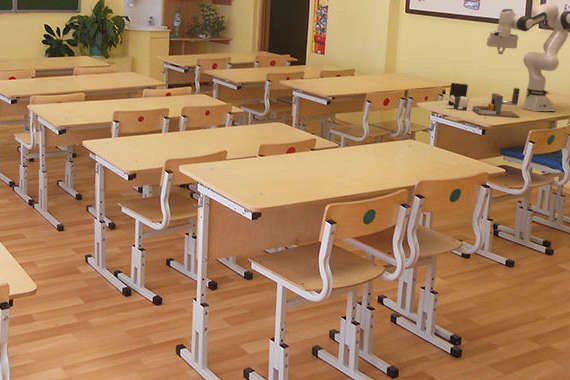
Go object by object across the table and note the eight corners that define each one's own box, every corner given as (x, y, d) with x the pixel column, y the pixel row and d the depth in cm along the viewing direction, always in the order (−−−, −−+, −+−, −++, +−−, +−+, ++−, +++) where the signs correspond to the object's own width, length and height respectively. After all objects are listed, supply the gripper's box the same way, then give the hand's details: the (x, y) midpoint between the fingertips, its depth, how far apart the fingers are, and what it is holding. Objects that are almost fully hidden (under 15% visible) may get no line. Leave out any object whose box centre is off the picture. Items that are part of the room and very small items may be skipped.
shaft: (515, 104, 544) (518, 88, 541) (517, 105, 541) (519, 89, 538) (496, 103, 543) (499, 86, 540) (497, 104, 540) (500, 87, 537)
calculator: (464, 105, 564) (467, 84, 560) (464, 106, 560) (468, 85, 556) (448, 104, 565) (451, 82, 561) (448, 105, 561) (451, 83, 557)
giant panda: (466, 109, 552) (468, 95, 549) (468, 110, 547) (470, 96, 544) (444, 107, 552) (446, 93, 549) (446, 109, 546) (448, 94, 543)
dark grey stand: (511, 113, 552) (514, 94, 549) (519, 117, 537) (522, 98, 533) (472, 110, 550) (474, 91, 546) (479, 115, 535) (482, 95, 531)
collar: (490, 111, 546) (491, 103, 544) (493, 112, 540) (494, 105, 539) (487, 110, 546) (488, 103, 544) (490, 112, 540) (491, 104, 538)
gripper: (517, 34, 554) (513, 54, 558) (487, 31, 553) (484, 52, 556) (520, 35, 548) (516, 55, 552) (490, 32, 547) (487, 53, 550)
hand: (500, 54), depth 554 cm, fingers closed
